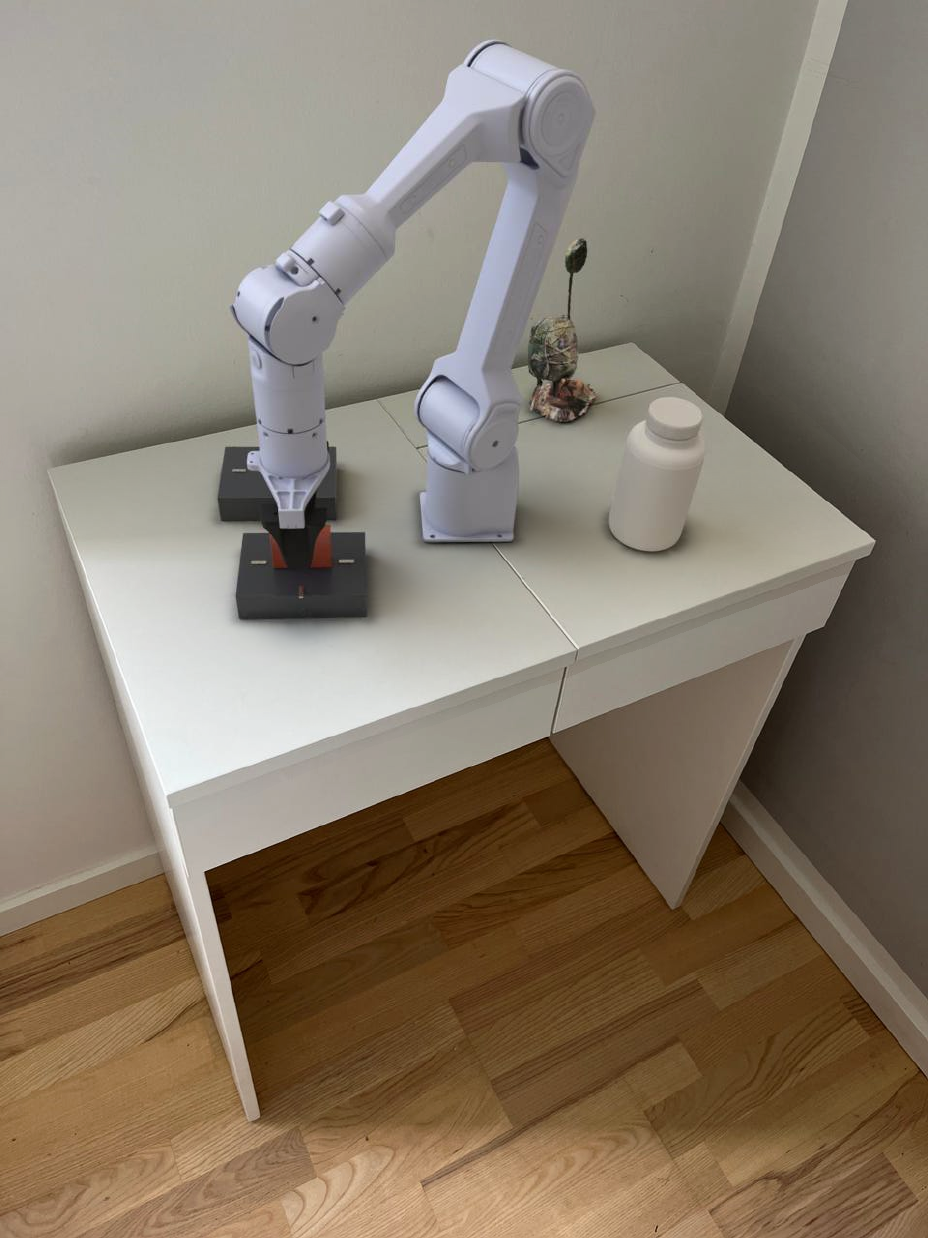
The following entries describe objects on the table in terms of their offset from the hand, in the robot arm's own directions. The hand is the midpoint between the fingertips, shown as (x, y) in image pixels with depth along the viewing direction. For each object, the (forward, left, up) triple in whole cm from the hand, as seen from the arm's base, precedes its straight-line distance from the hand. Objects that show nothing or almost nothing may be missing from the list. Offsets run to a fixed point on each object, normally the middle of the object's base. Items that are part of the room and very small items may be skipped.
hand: (300, 538), depth 89 cm
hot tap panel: (0, 0, -6) cm, 6 cm away
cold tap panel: (+3, -15, -6) cm, 16 cm away
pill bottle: (-36, -8, -6) cm, 37 cm away
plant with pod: (-30, -32, -6) cm, 44 cm away
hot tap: (0, 0, -3) cm, 3 cm away
